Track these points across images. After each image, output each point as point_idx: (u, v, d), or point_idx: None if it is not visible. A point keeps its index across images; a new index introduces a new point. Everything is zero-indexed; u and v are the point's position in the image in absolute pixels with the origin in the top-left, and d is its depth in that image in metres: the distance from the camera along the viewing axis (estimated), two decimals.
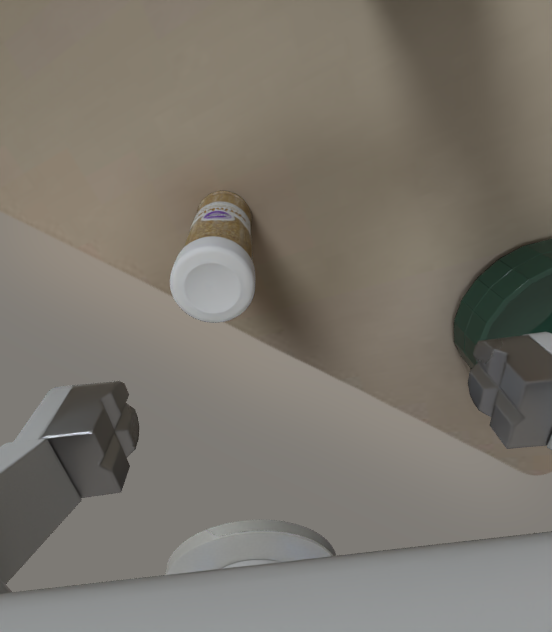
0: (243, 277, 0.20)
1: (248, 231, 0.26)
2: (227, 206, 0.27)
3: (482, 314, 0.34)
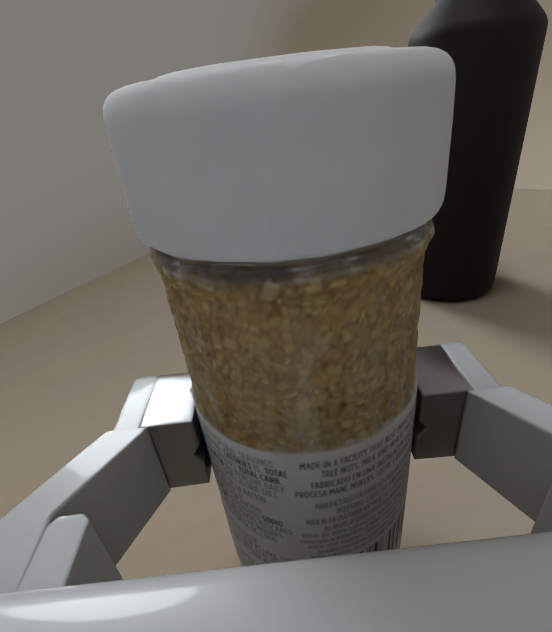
0: None
1: None
2: None
3: None
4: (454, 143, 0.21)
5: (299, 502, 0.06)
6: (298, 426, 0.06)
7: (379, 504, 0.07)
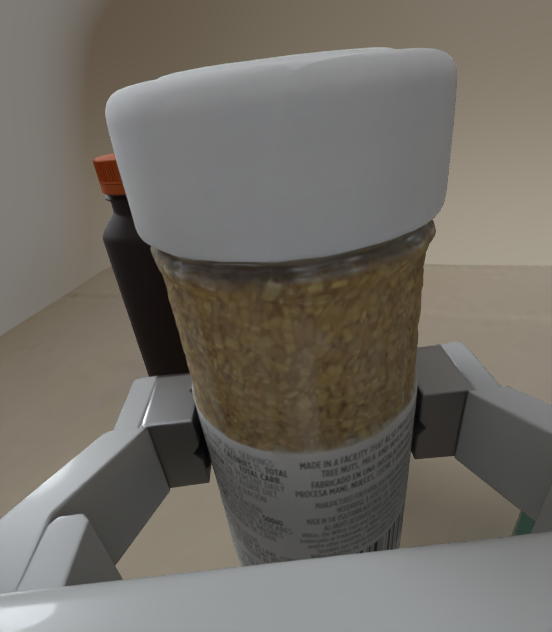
0: None
1: None
2: None
3: None
4: (145, 308, 0.28)
5: (299, 502, 0.06)
6: (298, 425, 0.06)
7: (379, 504, 0.07)
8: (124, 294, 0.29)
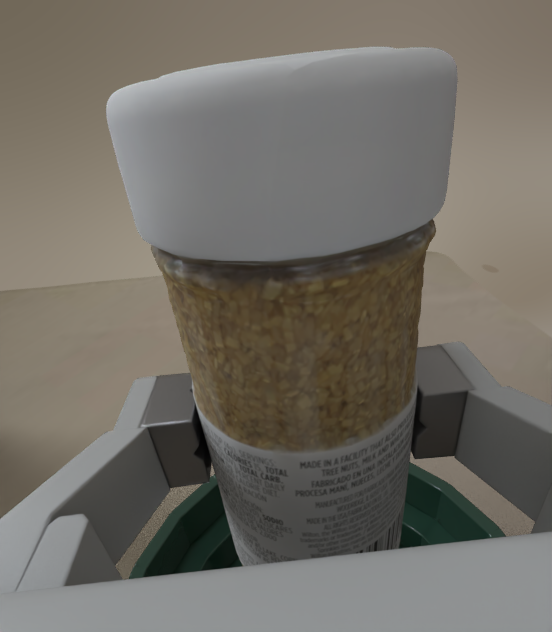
0: None
1: None
2: None
3: None
4: None
5: (299, 501, 0.06)
6: (298, 425, 0.06)
7: (378, 503, 0.07)
8: None
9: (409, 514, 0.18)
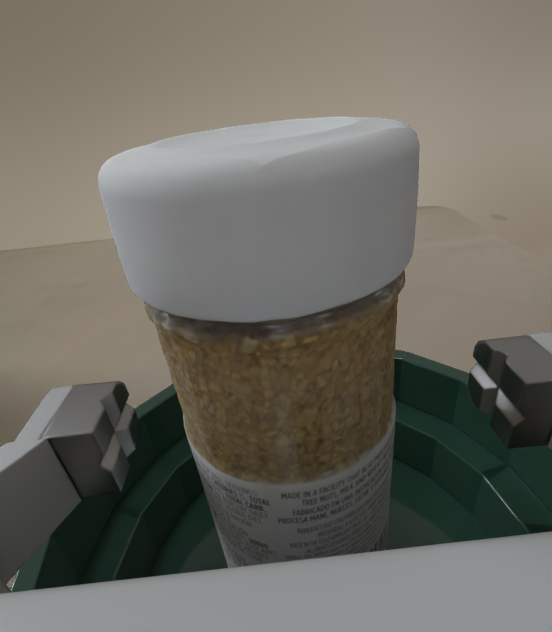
0: None
1: None
2: None
3: None
4: None
5: (282, 527, 0.07)
6: (277, 460, 0.06)
7: (359, 527, 0.07)
8: None
9: (420, 419, 0.15)
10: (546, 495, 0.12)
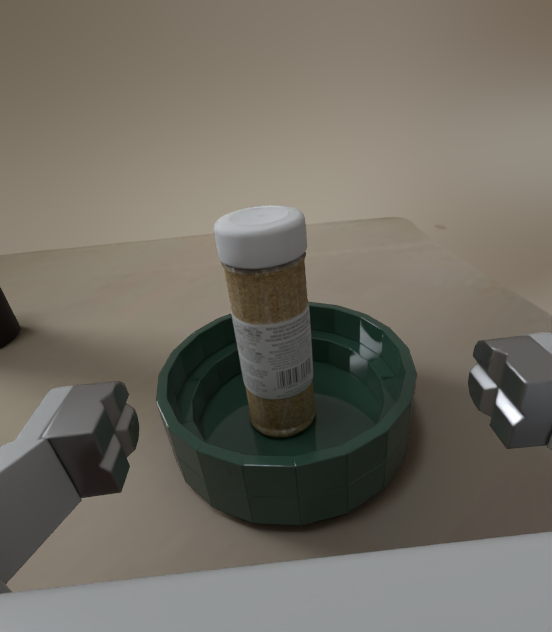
0: (291, 209, 0.19)
1: None
2: None
3: None
4: None
5: (266, 344, 0.20)
6: (265, 315, 0.19)
7: (294, 349, 0.21)
8: None
9: (344, 341, 0.28)
10: (391, 365, 0.25)
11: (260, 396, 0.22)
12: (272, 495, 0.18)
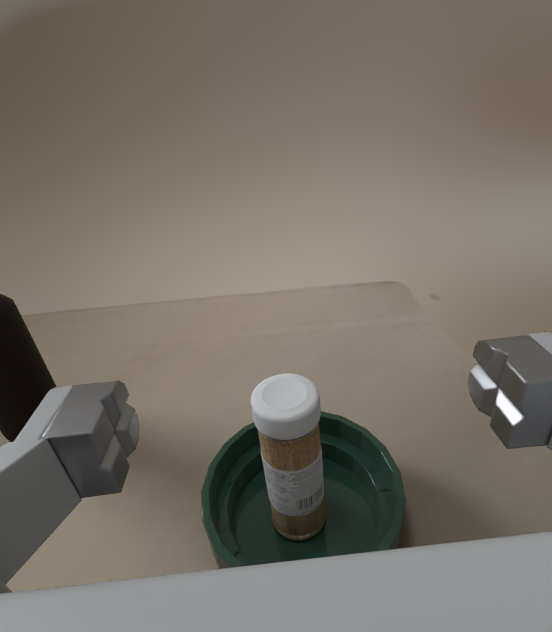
0: (308, 385, 0.25)
1: None
2: None
3: None
4: None
5: (289, 483, 0.26)
6: (288, 465, 0.25)
7: (310, 484, 0.27)
8: None
9: (348, 447, 0.34)
10: (386, 478, 0.31)
11: (283, 513, 0.28)
12: None
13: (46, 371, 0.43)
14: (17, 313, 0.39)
